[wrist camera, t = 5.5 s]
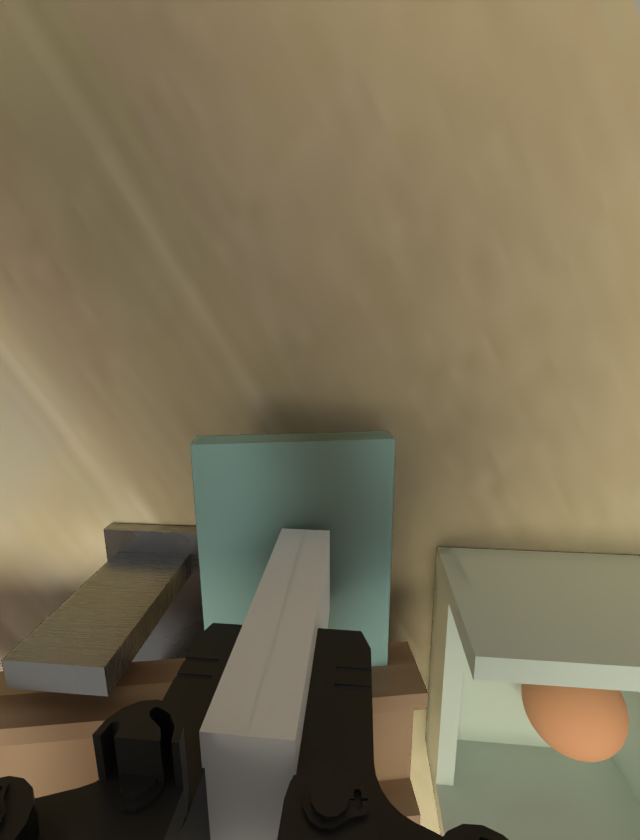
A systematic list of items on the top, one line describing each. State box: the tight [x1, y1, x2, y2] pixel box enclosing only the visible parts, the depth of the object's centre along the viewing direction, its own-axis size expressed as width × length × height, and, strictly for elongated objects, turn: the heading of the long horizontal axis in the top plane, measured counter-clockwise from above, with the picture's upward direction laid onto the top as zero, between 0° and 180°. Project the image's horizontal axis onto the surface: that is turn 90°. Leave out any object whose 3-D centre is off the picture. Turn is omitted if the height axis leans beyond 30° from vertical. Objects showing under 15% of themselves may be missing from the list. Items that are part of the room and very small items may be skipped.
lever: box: [0, 431, 428, 825], centre depth 13 cm, size 22×14×5 cm, turn 90°
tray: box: [425, 547, 640, 840], centre depth 15 cm, size 10×9×6 cm
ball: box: [521, 684, 629, 762], centre depth 16 cm, size 4×4×4 cm
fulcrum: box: [1, 523, 204, 697], centre depth 16 cm, size 11×4×7 cm, turn 0°
